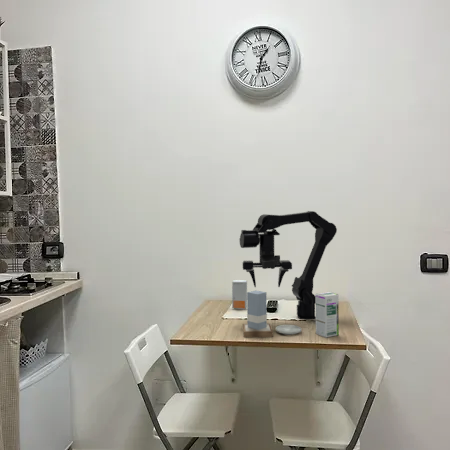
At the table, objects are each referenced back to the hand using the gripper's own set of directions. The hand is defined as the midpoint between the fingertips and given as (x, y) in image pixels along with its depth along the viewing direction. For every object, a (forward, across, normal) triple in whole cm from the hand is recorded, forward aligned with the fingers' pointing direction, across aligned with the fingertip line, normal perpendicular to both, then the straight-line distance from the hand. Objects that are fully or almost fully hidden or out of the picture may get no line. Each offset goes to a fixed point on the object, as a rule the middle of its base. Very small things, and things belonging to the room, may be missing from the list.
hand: (267, 287), depth 186 cm
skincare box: (+13, -10, +20) cm, 26 cm away
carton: (+11, -5, -17) cm, 21 cm away
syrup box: (+13, +19, -20) cm, 31 cm away
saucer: (+13, +6, -17) cm, 22 cm away
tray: (+13, -5, -17) cm, 22 cm away
